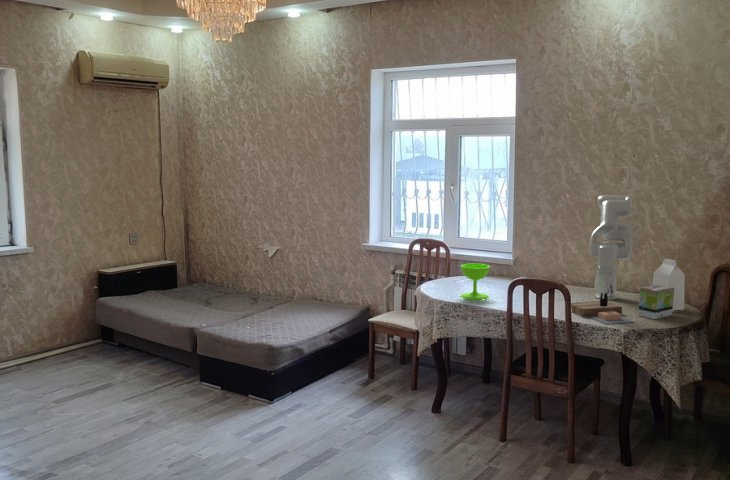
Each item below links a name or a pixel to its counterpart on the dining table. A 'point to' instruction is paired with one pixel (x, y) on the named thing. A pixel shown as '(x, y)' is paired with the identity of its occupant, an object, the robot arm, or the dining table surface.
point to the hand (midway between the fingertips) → (603, 306)
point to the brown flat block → (593, 308)
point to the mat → (622, 320)
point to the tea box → (656, 301)
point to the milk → (671, 281)
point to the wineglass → (475, 279)
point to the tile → (609, 315)
